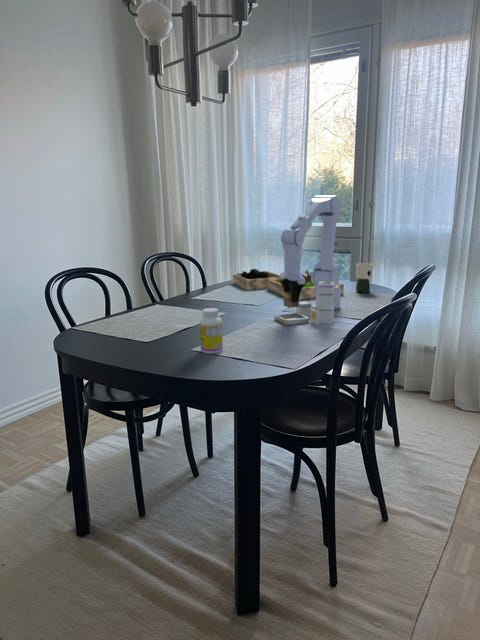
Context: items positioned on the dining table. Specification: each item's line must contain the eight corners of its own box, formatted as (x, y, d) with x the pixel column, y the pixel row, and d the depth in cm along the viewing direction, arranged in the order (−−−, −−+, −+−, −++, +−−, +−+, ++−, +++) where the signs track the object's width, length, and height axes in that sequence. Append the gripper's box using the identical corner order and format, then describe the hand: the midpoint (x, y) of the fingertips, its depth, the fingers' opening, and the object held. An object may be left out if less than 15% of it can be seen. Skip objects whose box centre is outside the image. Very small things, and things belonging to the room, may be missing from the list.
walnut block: (293, 304, 174) (293, 290, 173) (298, 306, 171) (299, 293, 169) (283, 305, 173) (283, 291, 171) (288, 307, 169) (289, 294, 168)
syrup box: (333, 324, 168) (334, 284, 165) (316, 323, 170) (317, 283, 166) (333, 320, 174) (335, 281, 170) (317, 319, 175) (318, 280, 171)
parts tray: (296, 316, 179) (296, 312, 179) (309, 322, 171) (309, 317, 170) (274, 319, 176) (274, 315, 175) (285, 325, 167) (286, 320, 167)
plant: (279, 295, 217) (279, 271, 214) (294, 287, 234) (294, 265, 231) (321, 299, 208) (322, 274, 205) (334, 291, 225) (334, 267, 222)
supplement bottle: (200, 347, 146) (199, 307, 142) (222, 347, 146) (221, 306, 143) (200, 355, 139) (199, 312, 136) (223, 354, 140) (222, 311, 136)
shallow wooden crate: (267, 280, 253) (267, 270, 251) (284, 286, 235) (284, 276, 234) (232, 283, 246) (232, 273, 244) (247, 290, 228) (247, 280, 227)
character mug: (367, 295, 213) (369, 266, 210) (352, 293, 216) (353, 265, 213) (373, 290, 223) (374, 262, 219) (357, 289, 226) (359, 262, 222)
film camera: (273, 285, 240) (273, 267, 238) (267, 288, 232) (267, 270, 229) (245, 283, 246) (245, 266, 243) (238, 287, 237) (238, 269, 234)
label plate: (311, 321, 172) (311, 308, 171) (318, 324, 168) (319, 311, 167) (309, 321, 172) (310, 308, 171) (317, 325, 168) (317, 311, 166)
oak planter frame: (313, 285, 238) (314, 275, 236) (343, 294, 215) (343, 283, 213) (267, 289, 228) (267, 279, 227) (293, 300, 205) (293, 289, 204)
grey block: (305, 313, 184) (305, 301, 182) (310, 316, 180) (311, 303, 179) (295, 314, 182) (296, 302, 181) (301, 317, 179) (301, 304, 177)
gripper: (273, 261, 173) (273, 297, 176) (292, 266, 160) (291, 306, 163) (290, 260, 175) (289, 295, 179) (310, 265, 162) (309, 303, 166)
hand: (291, 300), depth 171 cm, fingers closed on walnut block, 4 cm apart
